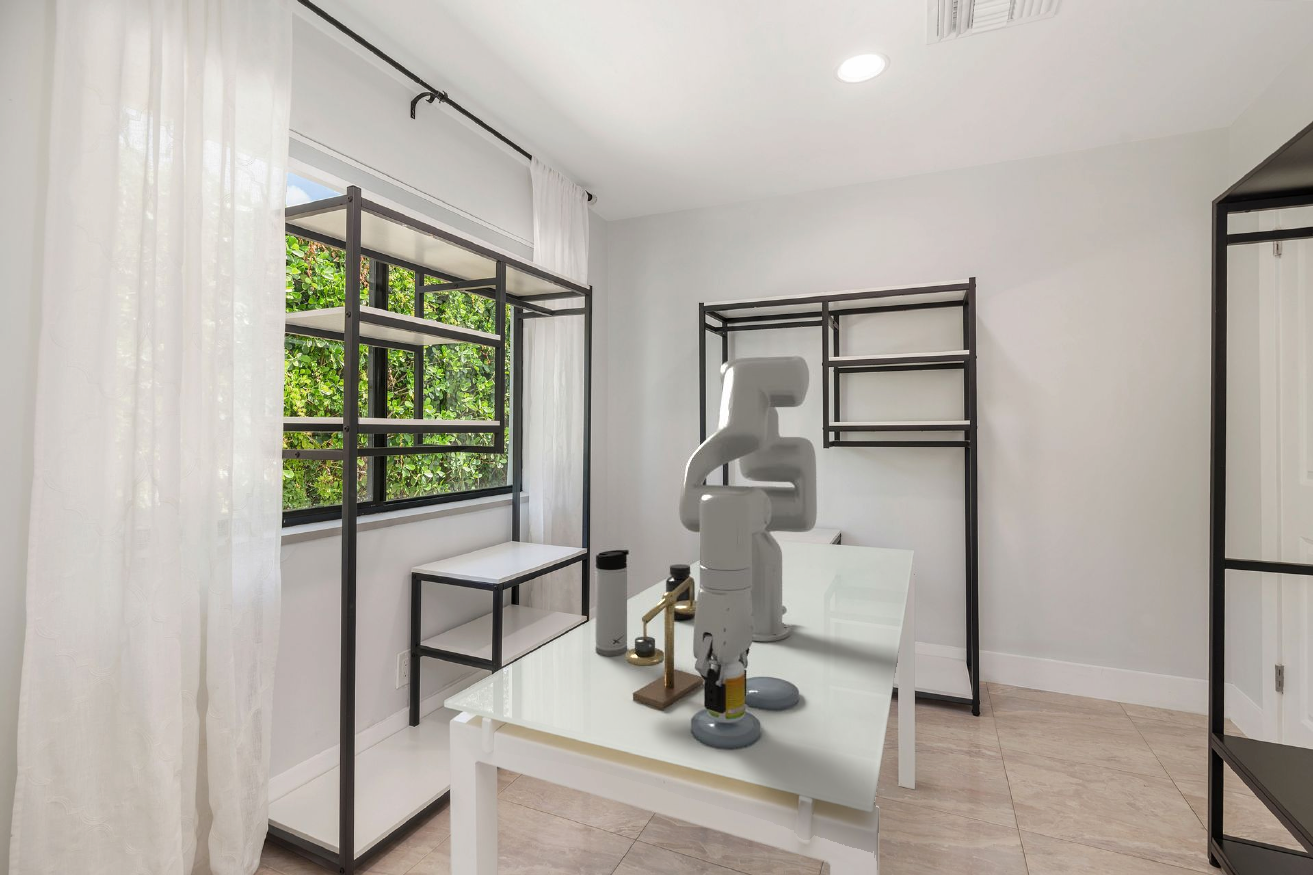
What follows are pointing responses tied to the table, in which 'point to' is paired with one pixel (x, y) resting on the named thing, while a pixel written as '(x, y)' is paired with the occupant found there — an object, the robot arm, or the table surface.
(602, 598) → the travel mug
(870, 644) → the table surface
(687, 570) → the supplement bottle
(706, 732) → the dish low side
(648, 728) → the table surface
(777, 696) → the dish high side
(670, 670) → the balance
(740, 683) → the supplement bottle
